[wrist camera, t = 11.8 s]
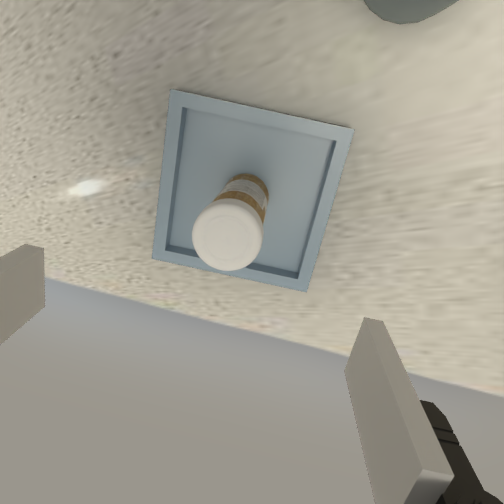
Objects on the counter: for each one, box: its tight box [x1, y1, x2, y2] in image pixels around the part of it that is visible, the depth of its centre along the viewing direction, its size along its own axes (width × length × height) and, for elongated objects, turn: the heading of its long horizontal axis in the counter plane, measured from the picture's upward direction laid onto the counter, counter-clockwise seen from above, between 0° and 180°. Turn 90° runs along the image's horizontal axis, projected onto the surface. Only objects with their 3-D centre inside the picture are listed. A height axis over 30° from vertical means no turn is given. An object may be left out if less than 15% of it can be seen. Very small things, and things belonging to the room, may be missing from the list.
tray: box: [152, 89, 354, 292], centre depth 35 cm, size 16×16×2 cm
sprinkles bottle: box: [192, 173, 269, 271], centre depth 29 cm, size 5×5×13 cm
